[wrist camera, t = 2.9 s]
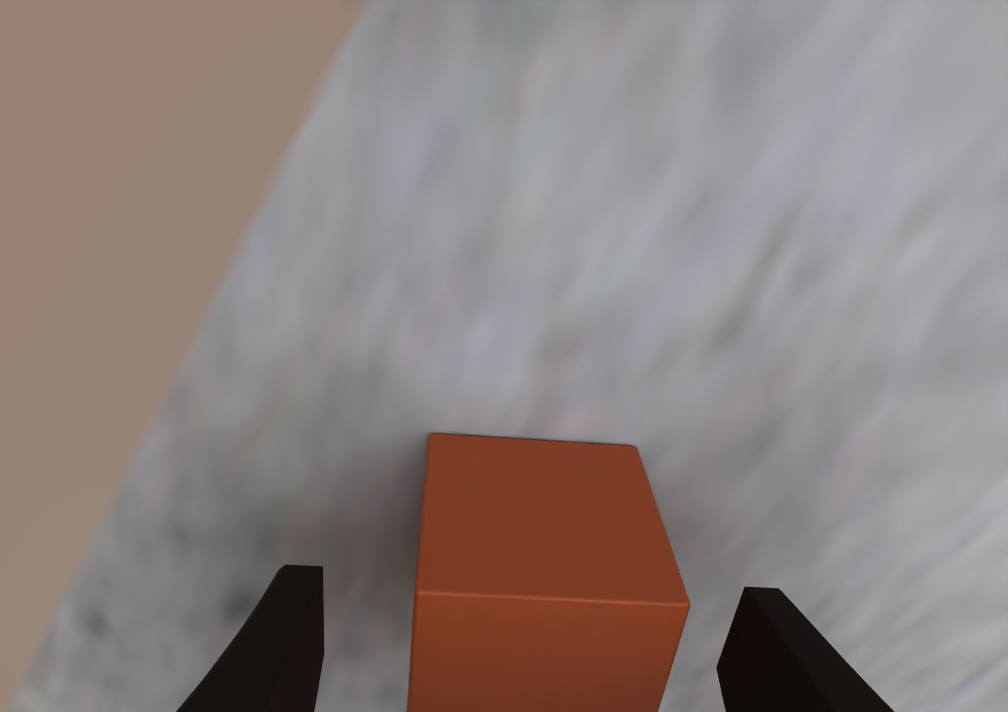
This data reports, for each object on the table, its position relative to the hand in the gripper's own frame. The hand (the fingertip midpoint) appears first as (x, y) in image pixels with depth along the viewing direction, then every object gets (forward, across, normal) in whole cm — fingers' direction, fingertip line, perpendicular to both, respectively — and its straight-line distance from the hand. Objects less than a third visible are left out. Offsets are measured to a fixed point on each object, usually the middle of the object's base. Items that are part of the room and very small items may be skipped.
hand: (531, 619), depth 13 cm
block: (+3, 0, 0) cm, 3 cm away
